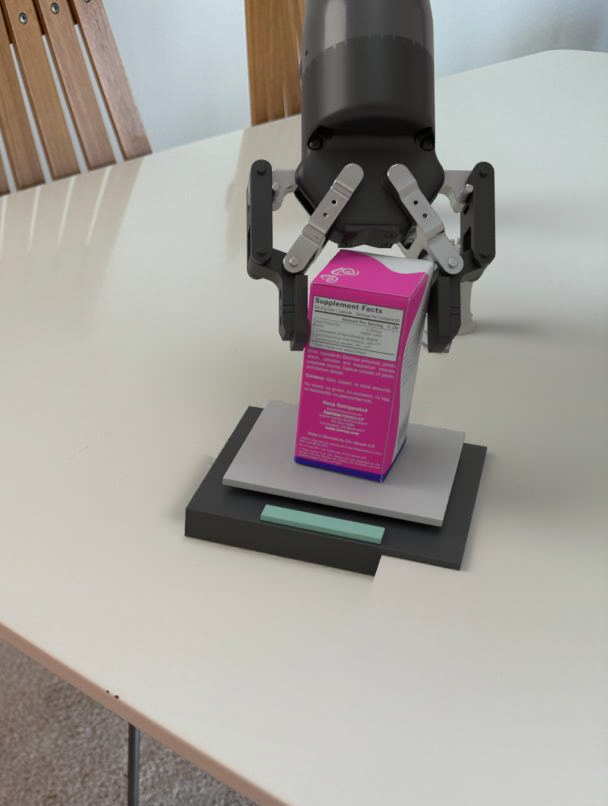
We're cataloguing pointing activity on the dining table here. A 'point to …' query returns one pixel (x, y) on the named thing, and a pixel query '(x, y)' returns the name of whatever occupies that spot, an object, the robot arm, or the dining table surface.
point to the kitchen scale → (337, 498)
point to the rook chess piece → (466, 314)
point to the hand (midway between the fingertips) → (369, 347)
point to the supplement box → (361, 362)
